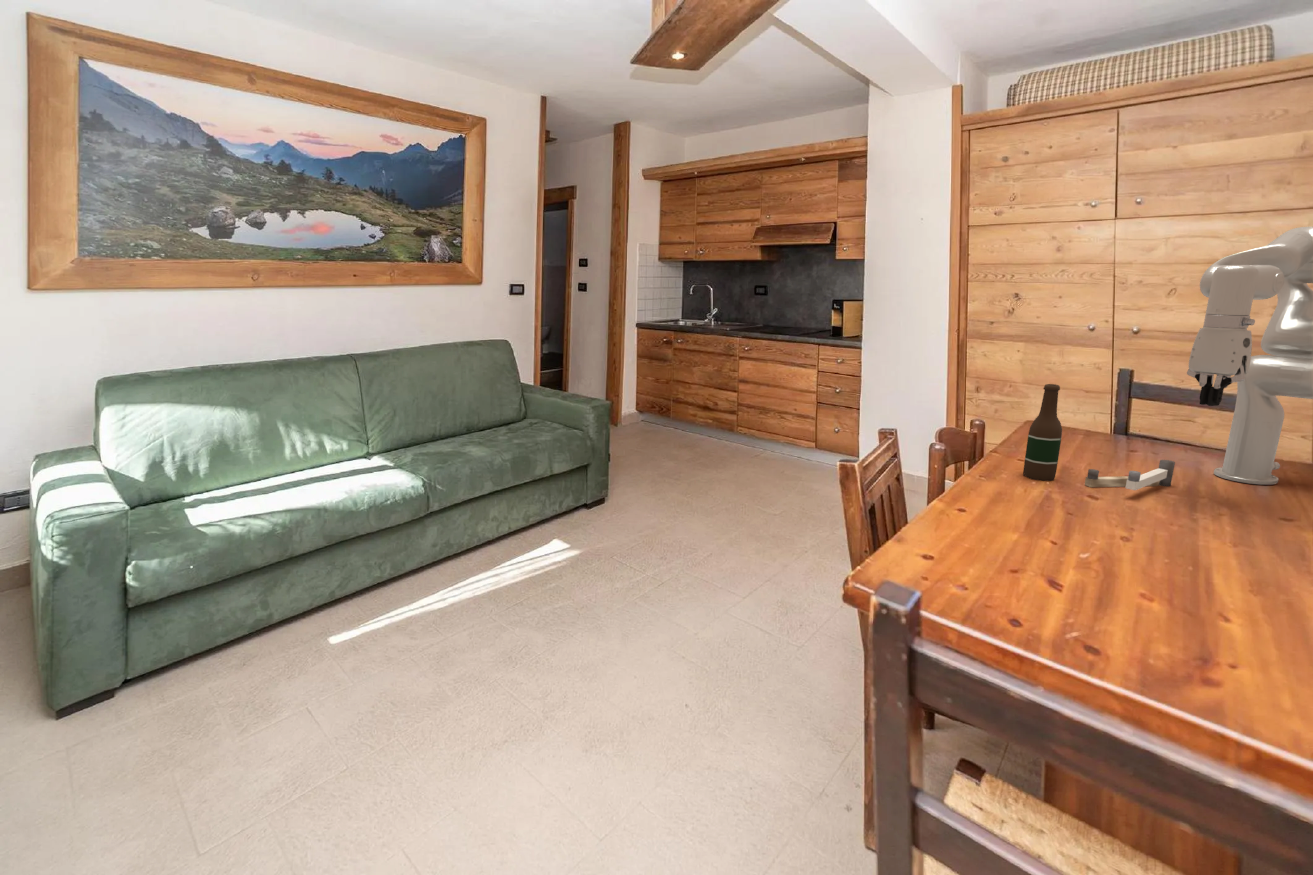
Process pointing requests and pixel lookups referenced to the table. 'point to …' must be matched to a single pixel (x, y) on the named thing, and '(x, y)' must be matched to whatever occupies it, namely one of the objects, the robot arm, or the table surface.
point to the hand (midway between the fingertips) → (1209, 404)
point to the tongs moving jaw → (1144, 478)
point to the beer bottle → (1044, 439)
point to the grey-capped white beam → (1120, 481)
